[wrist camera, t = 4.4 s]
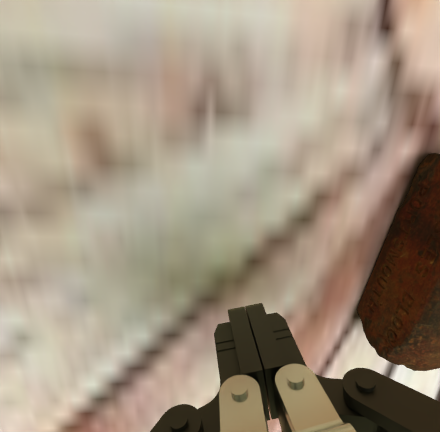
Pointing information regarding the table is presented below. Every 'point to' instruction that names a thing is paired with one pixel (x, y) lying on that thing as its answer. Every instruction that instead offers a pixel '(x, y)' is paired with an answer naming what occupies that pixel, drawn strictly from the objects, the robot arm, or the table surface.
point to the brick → (408, 279)
